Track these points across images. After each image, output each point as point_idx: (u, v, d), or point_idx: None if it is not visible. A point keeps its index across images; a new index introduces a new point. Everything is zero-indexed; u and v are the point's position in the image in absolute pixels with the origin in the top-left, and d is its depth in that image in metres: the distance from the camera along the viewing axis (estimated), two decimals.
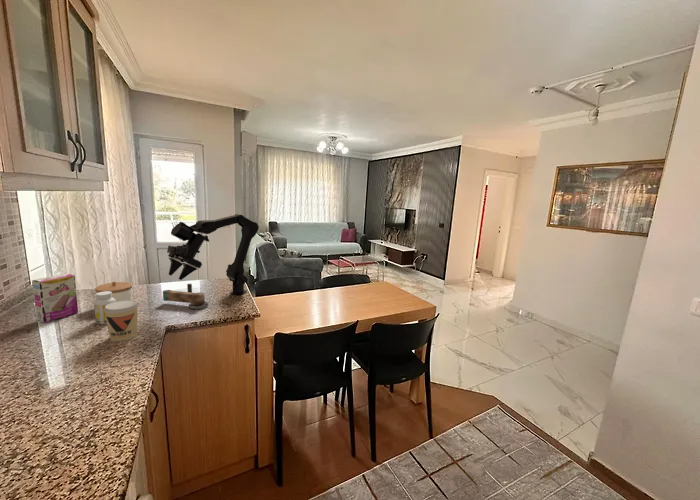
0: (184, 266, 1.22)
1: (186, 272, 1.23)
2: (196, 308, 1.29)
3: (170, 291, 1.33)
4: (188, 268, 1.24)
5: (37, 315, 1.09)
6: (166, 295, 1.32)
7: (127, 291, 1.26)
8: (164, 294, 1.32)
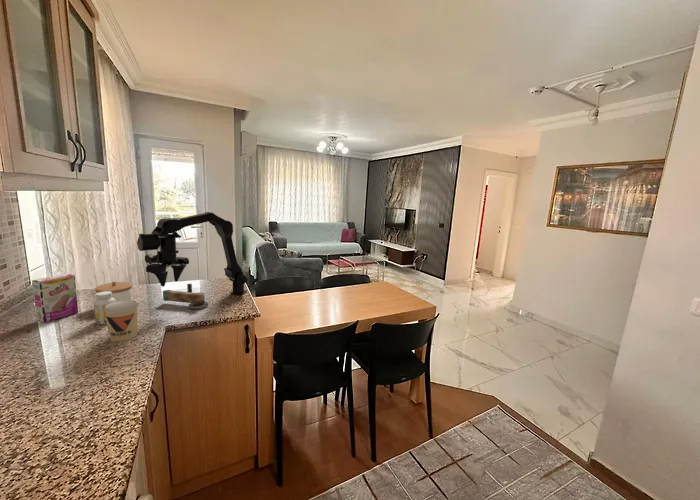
0: None
1: (161, 278, 1.19)
2: (196, 308, 1.29)
3: (170, 291, 1.33)
4: (160, 274, 1.19)
5: (37, 315, 1.09)
6: (166, 295, 1.32)
7: (127, 291, 1.26)
8: (164, 294, 1.32)
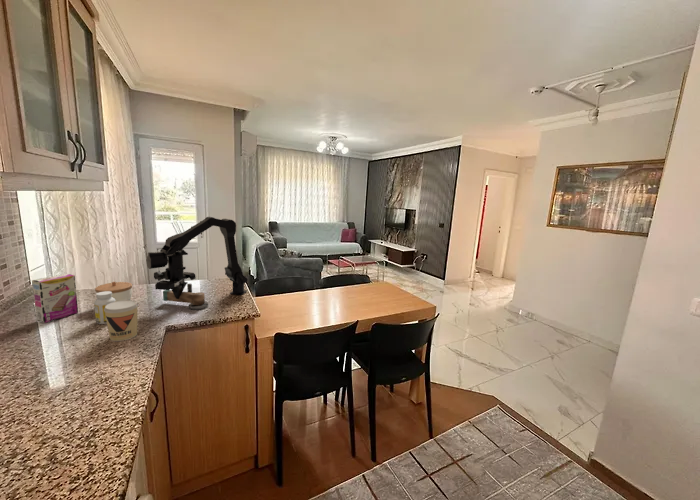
0: None
1: (175, 291, 1.28)
2: (196, 308, 1.29)
3: (170, 291, 1.33)
4: (175, 287, 1.28)
5: (37, 315, 1.09)
6: (166, 295, 1.32)
7: (127, 291, 1.26)
8: (164, 294, 1.32)
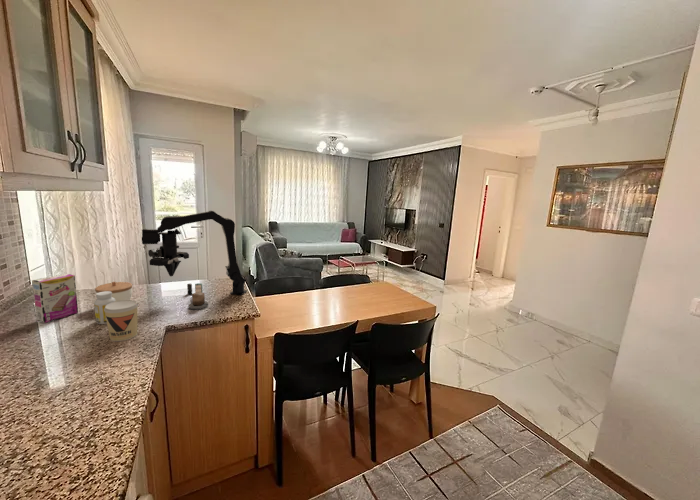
0: None
1: (169, 269, 1.34)
2: (196, 308, 1.29)
3: (198, 285, 1.43)
4: (169, 265, 1.33)
5: (37, 315, 1.09)
6: (195, 288, 1.44)
7: (127, 291, 1.26)
8: (195, 286, 1.45)
